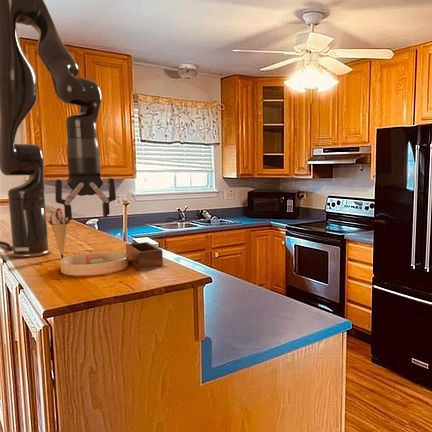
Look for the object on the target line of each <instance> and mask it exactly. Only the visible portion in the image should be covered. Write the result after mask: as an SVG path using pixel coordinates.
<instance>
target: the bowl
mask: <svg viewBox="0 0 432 432" xmlns="http://www.w3.org/2000/svg"><path fill="white" fill-rule="evenodd" d="M94 254H98V255H99V256H100V257H101V258H102V259H103V260H104V261H105V263H99V264H88V265H87V264H86V255H94ZM129 263H130V262H129V261H128V254H126V252H122V251H112V250H111V251H109V250H108V251H106V250H105V251H90V252H83V253H77V254H72V255H69V256H64V257H63V258H61V259H60V260H59V266H60V267H59V268H60V272H61V273H62V274H64V275H69V276H95V275H103V274H109V273H113V272H118V271H121V270H124V269H126V268H128V266H129V265H130V264H129Z"/></svg>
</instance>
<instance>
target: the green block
mask: <svg viewBox="0 0 432 432" xmlns="http://www.w3.org/2000/svg"><path fill="white" fill-rule="evenodd" d="M99 263H105V261H104V260H103V259H102V258H99V259H91V260H90V264H99Z"/></svg>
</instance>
